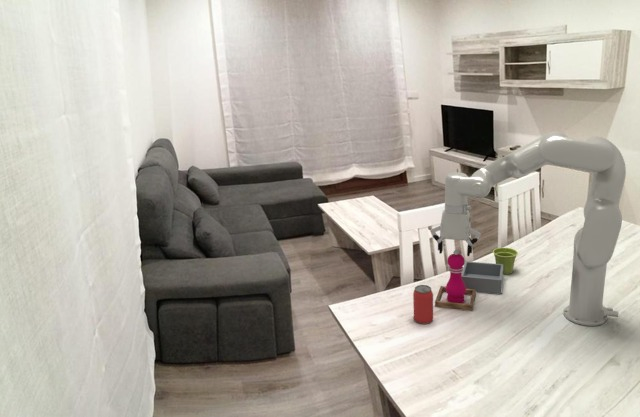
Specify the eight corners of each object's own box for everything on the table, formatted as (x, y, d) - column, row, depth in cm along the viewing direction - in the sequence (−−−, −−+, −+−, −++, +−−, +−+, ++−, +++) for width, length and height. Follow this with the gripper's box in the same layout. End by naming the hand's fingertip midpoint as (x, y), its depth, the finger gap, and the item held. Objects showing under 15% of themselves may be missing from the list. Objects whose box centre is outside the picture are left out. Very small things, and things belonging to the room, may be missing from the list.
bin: (502, 277, 193) (503, 264, 191) (501, 294, 180) (501, 280, 178) (465, 274, 199) (465, 261, 197) (460, 290, 186) (460, 276, 184)
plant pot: (520, 275, 194) (521, 255, 191) (496, 277, 194) (497, 257, 191) (511, 266, 203) (512, 246, 200) (489, 267, 203) (489, 248, 200)
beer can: (422, 326, 163) (421, 294, 160) (409, 318, 169) (409, 287, 165) (437, 320, 166) (437, 289, 163) (424, 312, 172) (424, 282, 168)
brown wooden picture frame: (475, 294, 182) (475, 289, 181) (472, 311, 170) (472, 306, 170) (440, 290, 187) (440, 285, 186) (434, 306, 175) (434, 301, 175)
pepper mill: (466, 305, 174) (467, 254, 168) (446, 305, 176) (446, 254, 170) (464, 296, 181) (465, 246, 175) (445, 295, 183) (445, 246, 177)
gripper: (482, 206, 168) (480, 251, 173) (432, 203, 175) (432, 247, 180) (480, 213, 161) (478, 260, 167) (428, 209, 168) (428, 255, 173)
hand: (454, 253), depth 173 cm, fingers open, 9 cm apart
